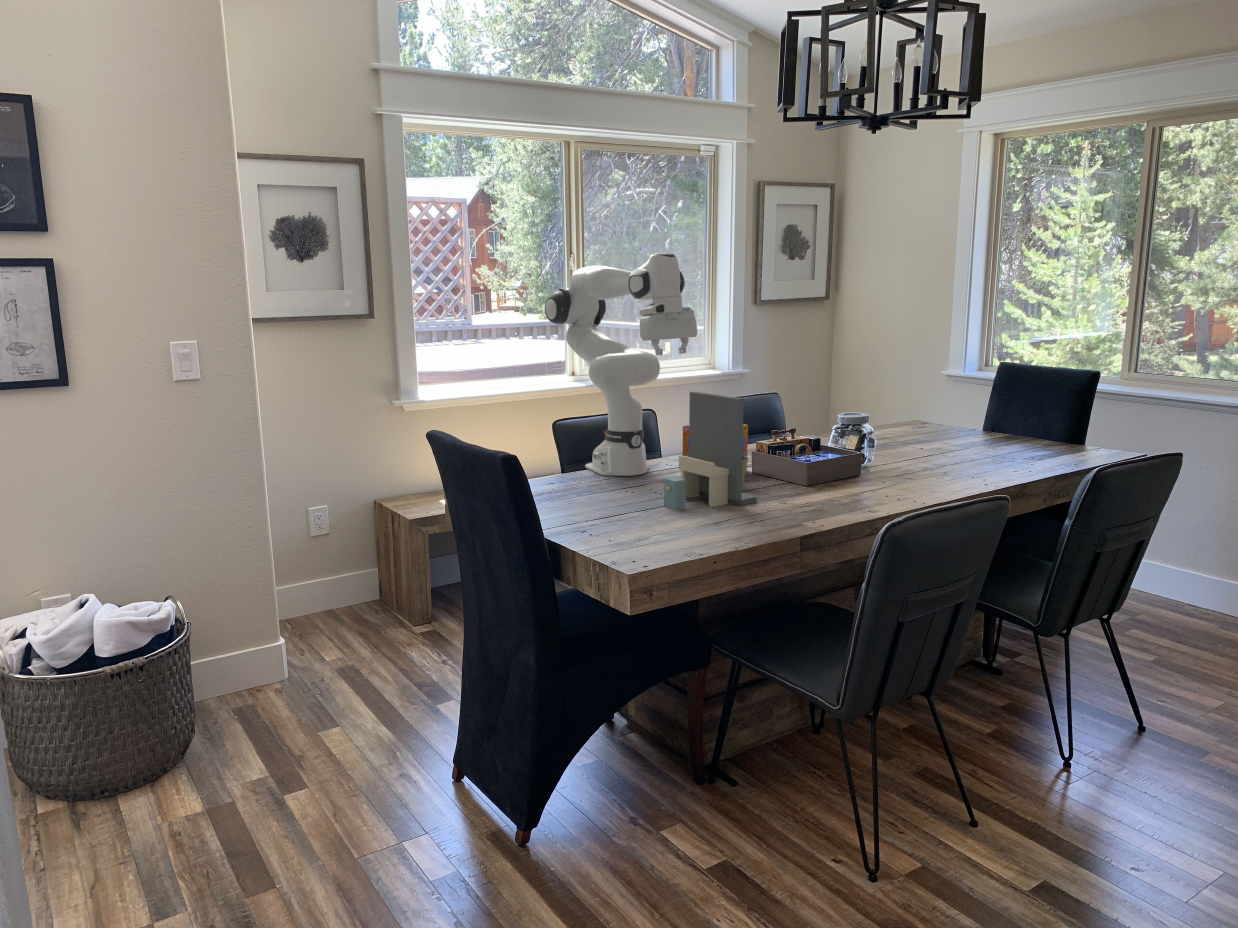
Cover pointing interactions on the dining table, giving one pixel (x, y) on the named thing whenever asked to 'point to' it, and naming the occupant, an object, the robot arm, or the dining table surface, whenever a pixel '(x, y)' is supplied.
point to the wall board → (715, 450)
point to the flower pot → (744, 467)
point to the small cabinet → (674, 493)
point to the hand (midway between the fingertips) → (671, 354)
